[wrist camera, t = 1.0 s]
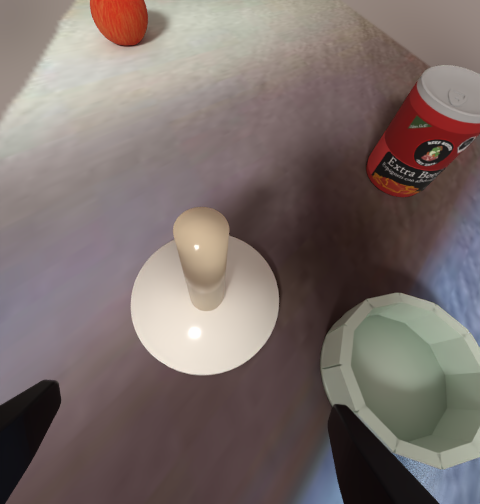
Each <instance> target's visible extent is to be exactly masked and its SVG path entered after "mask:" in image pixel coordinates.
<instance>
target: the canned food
mask: <svg viewBox="0 0 480 504" xmlns="http://www.w3.org/2000/svg"><path fill="white" fill-rule="evenodd" d="M479 134H480V74H478V73H476V72H474V71H471V70H468V69H465V68H461V67H457V66H450V65H439V66H434V67H431V68H429V69H427V70H425V72H424V73H423V74H422V76H421V77H420V78H419V79H418V81H417V82H416V84H415V85H414V87H413V89H412V90H411V91H410V93H409V94H408V96H407V98H406V99H405V101H404V102H403V104H402V106H401V107H400V109H399V110H398V112H397V113H396V115H395V117H394V118H393V120H392V121H391V123H390V125H389V126H388V128H387V129H386V131H385V132H384V134H383V136H382V137H381V139H380V140H379V142H378V144H377V145H376V147H375V148H374V150H373V151H372V153H371V155H370V156H369V159H368V162H367V168H366V170H367V174H368V177H369V179H370V180H371V182H372V183H373V184H374V185H375V186H376V187H377V188H379V189H380V190H381V191H383V192H385V193H387V194H389V195H392V196H396V197H409V196H413V195H415V194H417V193H419V192H420V191H422V190H424V189H425V188H426V187H427V186H428V185H429V184H430V183H431V182H432V181H433V180H434V179H435V178H436V177H437V176H438V175H439V174H440V173H441V172H442V171H443V170H444V169H445V168H446V167H447V166H448V165H449V164H450V163H451V162H452V161H453V160H454V159H455V158H456V157H457V156H458V155H459V154H460V153H461V152H462V151H463V150H464V149H465V148H466V147H467V146H468V145H469V144H470V143H471V142H472V141H473V140H474V139H475V138H476V137H477V136H478V135H479Z"/></svg>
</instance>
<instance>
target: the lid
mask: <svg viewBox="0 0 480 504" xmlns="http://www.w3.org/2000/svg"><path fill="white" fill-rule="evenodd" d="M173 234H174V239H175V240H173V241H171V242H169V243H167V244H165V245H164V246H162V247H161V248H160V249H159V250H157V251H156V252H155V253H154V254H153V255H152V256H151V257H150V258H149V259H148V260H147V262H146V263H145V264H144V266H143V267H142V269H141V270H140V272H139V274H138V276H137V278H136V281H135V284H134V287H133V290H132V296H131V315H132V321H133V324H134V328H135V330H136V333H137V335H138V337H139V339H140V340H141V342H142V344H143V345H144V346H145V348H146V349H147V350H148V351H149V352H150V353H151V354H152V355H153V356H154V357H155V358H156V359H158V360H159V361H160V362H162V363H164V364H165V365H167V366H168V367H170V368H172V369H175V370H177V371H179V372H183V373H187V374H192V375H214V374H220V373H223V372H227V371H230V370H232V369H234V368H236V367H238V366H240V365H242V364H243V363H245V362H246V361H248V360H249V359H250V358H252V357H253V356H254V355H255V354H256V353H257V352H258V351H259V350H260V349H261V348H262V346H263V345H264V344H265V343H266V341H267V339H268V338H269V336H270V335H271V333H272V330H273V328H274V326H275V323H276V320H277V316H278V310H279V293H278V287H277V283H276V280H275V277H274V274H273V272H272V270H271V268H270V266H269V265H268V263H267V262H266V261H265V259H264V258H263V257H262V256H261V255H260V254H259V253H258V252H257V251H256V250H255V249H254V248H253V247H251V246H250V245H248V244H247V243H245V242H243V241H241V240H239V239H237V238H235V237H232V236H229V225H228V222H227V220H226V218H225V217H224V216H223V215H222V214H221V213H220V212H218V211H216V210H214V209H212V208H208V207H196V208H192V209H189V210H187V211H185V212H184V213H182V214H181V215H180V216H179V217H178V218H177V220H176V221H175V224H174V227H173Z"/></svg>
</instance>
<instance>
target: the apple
mask: <svg viewBox="0 0 480 504" xmlns="http://www.w3.org/2000/svg"><path fill="white" fill-rule="evenodd" d="M90 9H91V14H92V17H93V20H94V22H95V24H96V26H97V28H98V29H99V31H100V32H101V33H102V34H103V35H104V36H105V37H106V38H107V39H108V40H110V41H111V42H113V43H116V44H118V45H136V44H137V43H139V42H140V41H141V40H142V38H143V37H144V35H145V32H146V29H147V24H148V14H147V9H146V5H145V2H144V0H90Z"/></svg>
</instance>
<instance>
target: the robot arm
mask: <svg viewBox="0 0 480 504" xmlns="http://www.w3.org/2000/svg"><path fill="white" fill-rule="evenodd" d="M60 404H61V395H60V388H59V383H58V381H56V380H43V381H41V382H39V383H37V384H35V385H34V386H32V387H30V388H29V389H27V390H25V391H24V392H22V393H20V394H19V395H17V396H15V397H14V398H12V399H10V400H9V401H7V402H5V403H4V404H2V405H0V504H5V503H6V501H7V500H8V498H9V496H10V495H11V493H12V492H13V490H14V489H15V487H16V485H17V484H18V482H19V481H20V479H21V477H22V476H23V474H24V473H25V471H26V469H27V468H28V466H29V464H30V463H31V461H32V459H33V457H34V456H35V454H36V452H37V450H38V448H39V446H40V444H41V442H42V440H43V438H44V436H45V434H46V433H47V431H48V429H49V427H50V425H51V423H52V421H53V419H54V417H55V415H56V413H57V411H58V409H59V407H60ZM328 432H329V437H330V443H331V448H332V453H333V459H334V464H335V469H336V474H337V479H338V484H339V488H340V492H341V495H342V499H343V502H344V504H439V503H438V502H437V500H436V499H435V498H434V497H433V496H432V495H431V494H430V493H429V492H428V491H427V490H426V489H425V488H424V487H423V486H422V485H421V483H420V482H419V481H418V480H417V479H416V478H415V477H414V476H413V475H412V474H411V473H410V472H409V471H408V470H407V469H406V468H405V467H404V465H403V464H402V463H401V462H400V461H399V460H398V459H397V458H396V457H395V456H394V455H393V454H392V453H391V452H390V451H389V450H388V448H387V447H386V446H385V445H384V444H383V443H382V442H381V441H380V440H379V439H378V438H377V437H376V436H375V435H374V434H373V433H372V432H371V430H370V429H369V428H368V427H367V426H366V425H365V424H364V423H363V422H362V421H361V420H360V419H359V418H358V417H357V416H356V415H355V413H354V412H353V411H352V410H351V409H350V408H349V407H348V406H346V405H344V404H334V405H333V406H332V409H331V413H330V416H329V420H328Z"/></svg>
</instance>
